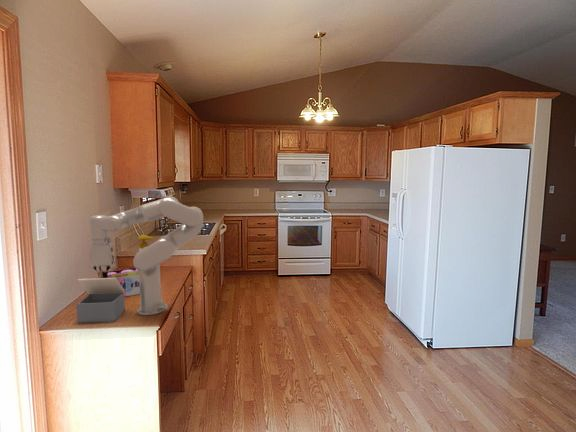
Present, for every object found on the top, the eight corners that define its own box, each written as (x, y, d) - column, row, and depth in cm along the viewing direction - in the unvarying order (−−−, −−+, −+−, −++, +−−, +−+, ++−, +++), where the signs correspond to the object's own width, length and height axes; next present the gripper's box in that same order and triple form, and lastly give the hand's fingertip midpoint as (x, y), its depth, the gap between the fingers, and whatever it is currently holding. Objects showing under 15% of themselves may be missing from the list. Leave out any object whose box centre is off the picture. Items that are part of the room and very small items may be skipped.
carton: (90, 311, 180) (89, 293, 179) (125, 310, 182) (123, 292, 181) (77, 323, 166) (76, 304, 165) (114, 321, 168) (113, 302, 167)
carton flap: (88, 293, 179) (91, 283, 182) (124, 292, 181) (126, 281, 184) (77, 280, 168) (80, 269, 171) (115, 278, 169) (117, 267, 173)
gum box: (148, 288, 216) (147, 265, 214) (151, 292, 209) (150, 268, 207) (102, 296, 203) (101, 272, 201) (104, 300, 196) (102, 275, 195)
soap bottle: (151, 284, 223) (148, 236, 219) (134, 284, 223) (131, 236, 220) (159, 278, 236) (157, 233, 232) (143, 278, 236) (141, 233, 232)
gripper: (120, 239, 178) (122, 277, 181) (86, 240, 177) (89, 278, 179) (115, 242, 171) (117, 281, 173) (79, 243, 169) (82, 282, 171)
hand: (103, 279), depth 176 cm, fingers closed
